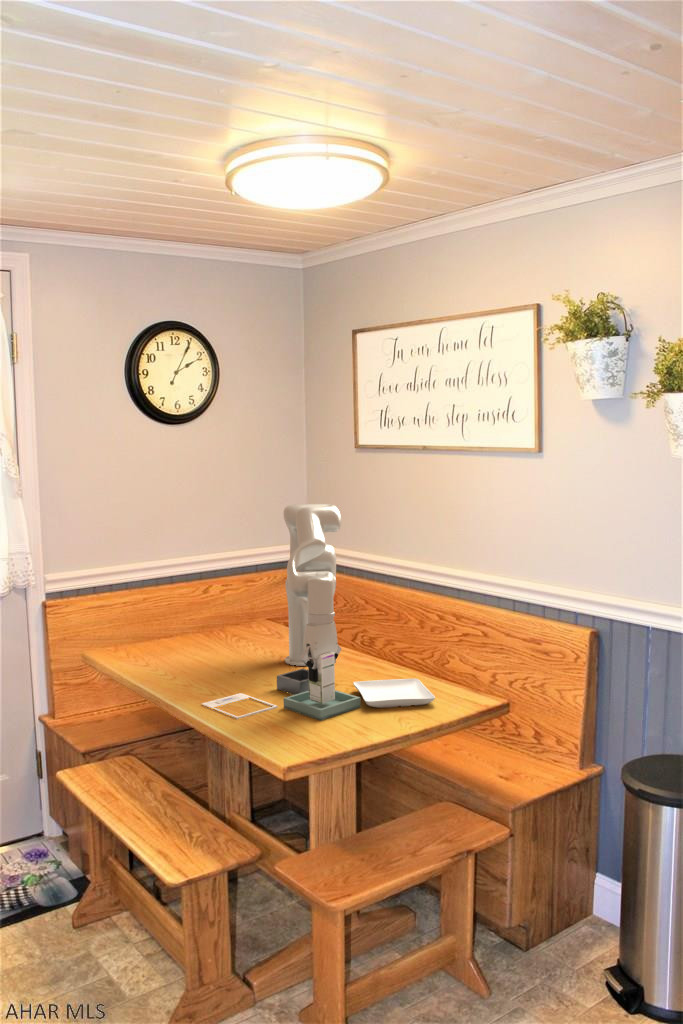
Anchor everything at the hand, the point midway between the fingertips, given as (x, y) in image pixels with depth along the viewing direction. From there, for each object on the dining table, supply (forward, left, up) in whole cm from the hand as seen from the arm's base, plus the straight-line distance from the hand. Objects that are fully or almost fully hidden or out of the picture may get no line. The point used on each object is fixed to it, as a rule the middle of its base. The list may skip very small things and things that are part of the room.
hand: (321, 678), depth 251 cm
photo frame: (+16, -19, -9) cm, 26 cm away
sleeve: (-8, -18, -9) cm, 21 cm away
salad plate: (-21, +9, -9) cm, 25 cm away
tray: (0, 0, -9) cm, 9 cm away
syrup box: (0, 0, -7) cm, 7 cm away
